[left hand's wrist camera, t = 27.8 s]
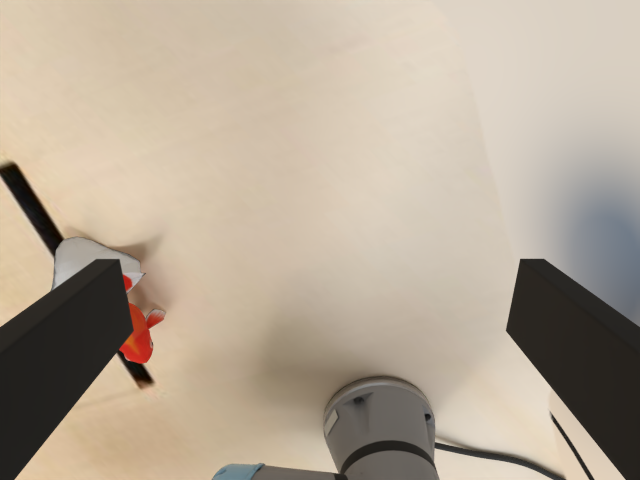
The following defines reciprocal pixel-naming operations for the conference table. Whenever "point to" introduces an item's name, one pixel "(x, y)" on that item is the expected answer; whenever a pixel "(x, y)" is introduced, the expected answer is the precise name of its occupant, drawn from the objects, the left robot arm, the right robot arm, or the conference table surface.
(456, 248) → the conference table surface
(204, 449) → the conference table surface
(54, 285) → the fish
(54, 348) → the left robot arm
